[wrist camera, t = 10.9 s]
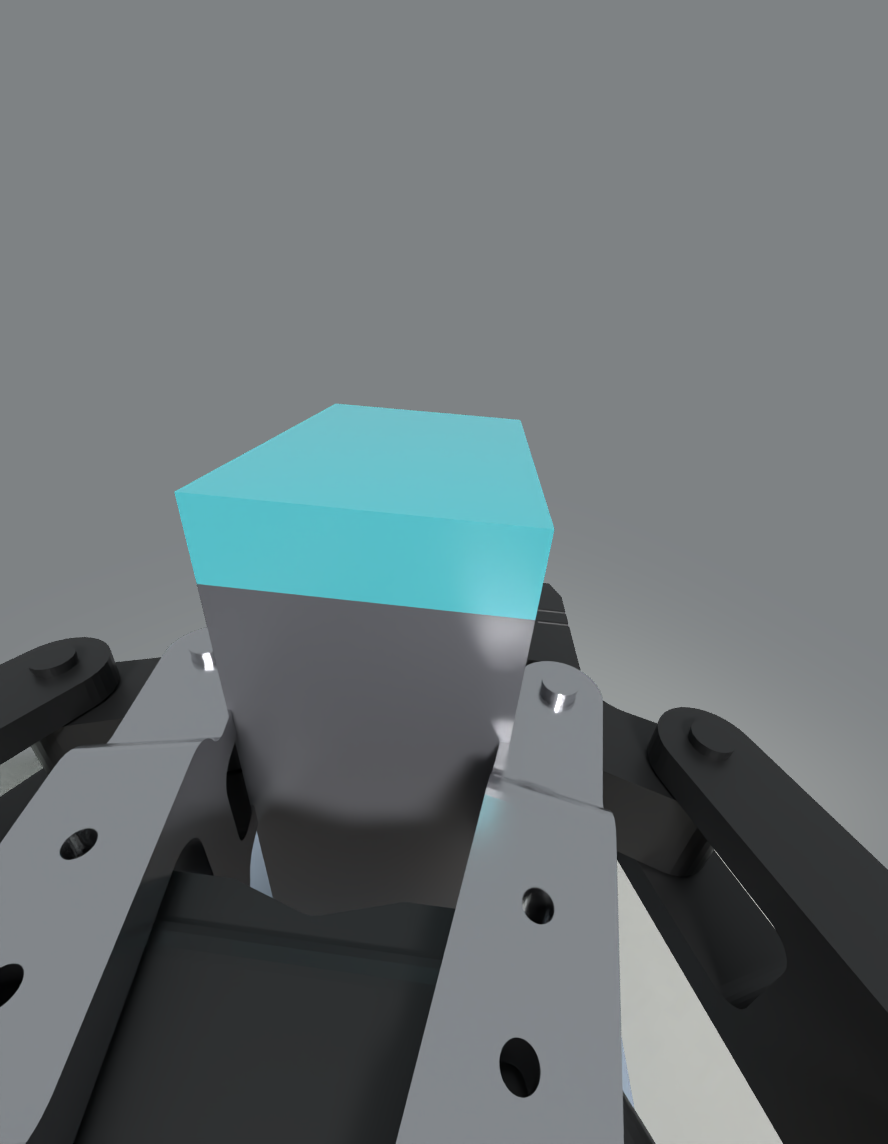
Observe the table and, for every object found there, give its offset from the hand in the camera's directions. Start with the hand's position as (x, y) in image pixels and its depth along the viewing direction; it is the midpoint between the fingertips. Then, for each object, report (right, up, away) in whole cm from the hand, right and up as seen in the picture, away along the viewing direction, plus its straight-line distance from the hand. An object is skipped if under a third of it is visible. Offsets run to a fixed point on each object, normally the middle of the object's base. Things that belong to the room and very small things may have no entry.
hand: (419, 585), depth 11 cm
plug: (-1, -7, +1) cm, 8 cm away
